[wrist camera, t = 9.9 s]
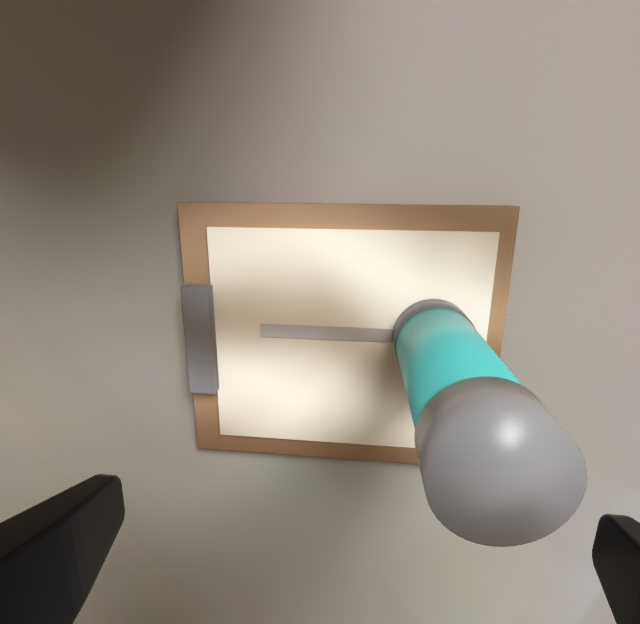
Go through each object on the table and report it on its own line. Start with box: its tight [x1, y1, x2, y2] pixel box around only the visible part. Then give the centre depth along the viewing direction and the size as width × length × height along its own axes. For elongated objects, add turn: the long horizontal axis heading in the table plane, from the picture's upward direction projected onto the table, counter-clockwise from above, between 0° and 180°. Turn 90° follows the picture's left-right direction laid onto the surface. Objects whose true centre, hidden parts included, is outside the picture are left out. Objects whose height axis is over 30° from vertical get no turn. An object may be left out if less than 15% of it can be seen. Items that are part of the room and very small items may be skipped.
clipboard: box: [177, 202, 520, 464], centre depth 19 cm, size 12×14×1 cm
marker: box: [393, 299, 587, 547], centre depth 14 cm, size 3×3×10 cm
